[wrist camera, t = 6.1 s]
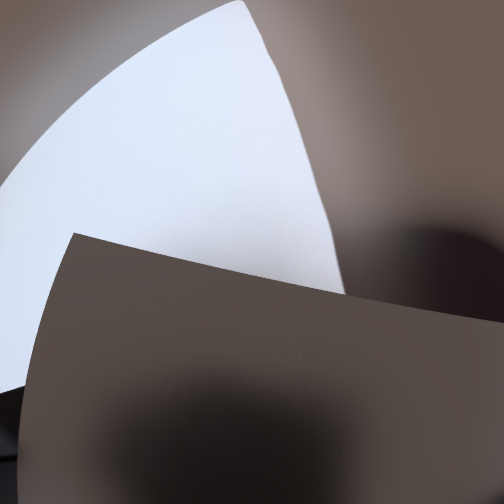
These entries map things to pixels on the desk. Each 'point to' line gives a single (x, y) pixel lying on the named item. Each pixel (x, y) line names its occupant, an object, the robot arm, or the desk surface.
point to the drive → (251, 392)
